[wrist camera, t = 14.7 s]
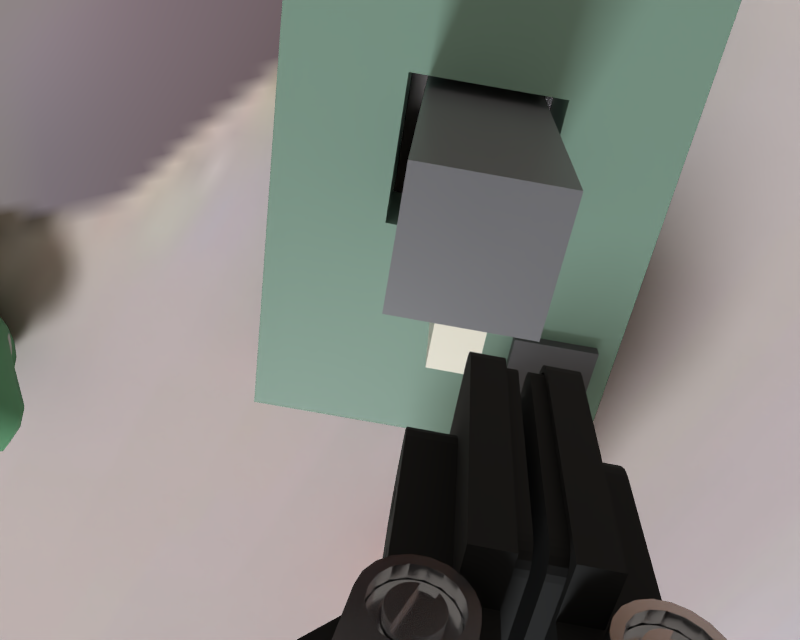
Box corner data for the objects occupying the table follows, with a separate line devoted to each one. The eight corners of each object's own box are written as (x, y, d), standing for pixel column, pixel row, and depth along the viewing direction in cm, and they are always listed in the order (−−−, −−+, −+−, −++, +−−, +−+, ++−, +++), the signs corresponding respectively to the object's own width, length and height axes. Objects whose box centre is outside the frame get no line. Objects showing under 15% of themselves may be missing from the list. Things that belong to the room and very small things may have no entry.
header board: (714, -28, 22) (753, -18, 19) (570, 409, 30) (581, 465, 27) (311, -99, 22) (286, -101, 19) (273, 358, 29) (251, 408, 26)
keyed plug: (540, 88, 24) (583, 191, 15) (506, 226, 26) (526, 385, 17) (430, 68, 24) (407, 159, 15) (405, 208, 26) (374, 358, 17)
